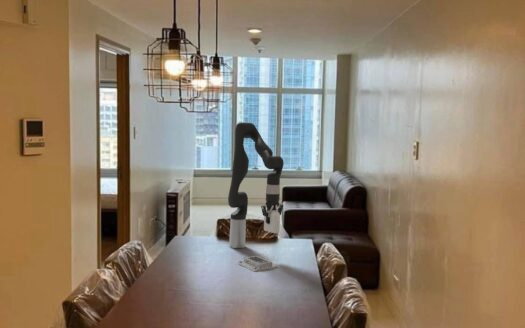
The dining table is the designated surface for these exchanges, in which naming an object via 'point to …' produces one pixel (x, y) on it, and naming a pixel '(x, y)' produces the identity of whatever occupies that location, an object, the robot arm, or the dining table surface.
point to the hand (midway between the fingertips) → (271, 223)
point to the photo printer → (273, 222)
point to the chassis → (257, 263)
